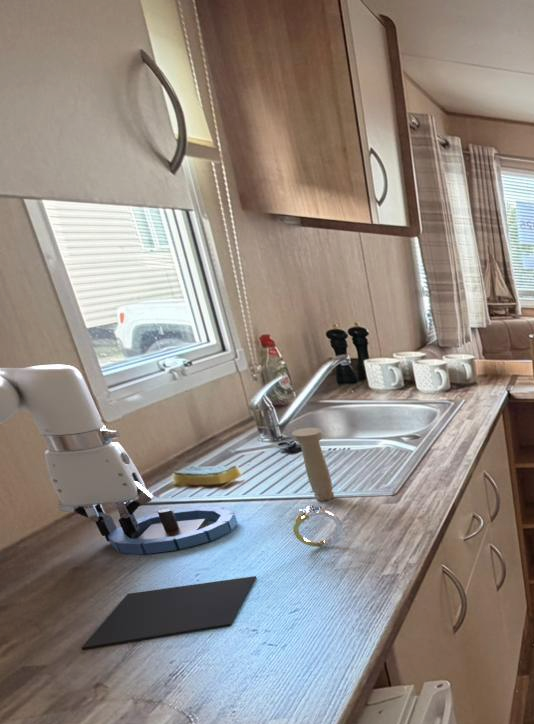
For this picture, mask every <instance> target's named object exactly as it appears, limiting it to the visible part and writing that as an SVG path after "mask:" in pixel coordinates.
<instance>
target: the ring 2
mask: <svg viewBox="0 0 534 724" xmlns="http://www.w3.org/2000/svg"><path fill="white" fill-rule="evenodd" d="M317 515H321V516H322V515H323V516H326V517H328V518H329V519H331V520H332V521H333V522H334V523H335V525H336V532H335V534H334V535H333V537H331V538H330V539H328V540H319V541H312V540H309V539H307V538H305V537H304V536H303V535H302V534H301V533H300V527H301V524H302V523H304V522H305V521H306V520H308V519H310V517H314V516H317ZM342 528H343V527H342V522H341V520H340V518H339V517H338V516H337V515H336V514H334V513H333V512H331V511H330V510H325V509H323V508H322V506H321V505H319V507H317V506H316V507H315V504H314V505H310V506H307V507H306V508H304V509H303V510H302V509H299V514H297V516H296V518H295V520H294V523H293V528H292V530H293V535H294V536H295V537H296V539H297V540H298V541H299V542H301V543H302V544H304V545H307V546H309V547H315V548H321V547H323V548H326V547H327V546H330V545H332V544H333V543H335V542H336V541H337V540H338V539H339V537H340V535H341V533H342Z"/></svg>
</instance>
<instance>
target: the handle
mask: <svg viewBox="0 0 534 724" xmlns="http://www.w3.org/2000/svg"><path fill="white" fill-rule="evenodd" d="M291 436H292V439H293V441H294V442H297V443H299V445H300V448H301V453H302V457H303V458H302V459H303V462H304V466H305V472H306V476H307V479H308V482H309V485H310V488H311V490H312V492H313V494H314V498H315V500H316V501H320V502H324V501H330V500H331V499H334V497H335V493H334V491H333V490H334V489H333V483H332V478H331V473H330V470H329V467H328V464H327V462H326V459H325V456H324V453H323V450H322V446H321V443H320V441H321V440H322V439H323V432H322V429H320V428H318V427H303V428H298V429H295V430H293V431H292V433H291Z"/></svg>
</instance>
